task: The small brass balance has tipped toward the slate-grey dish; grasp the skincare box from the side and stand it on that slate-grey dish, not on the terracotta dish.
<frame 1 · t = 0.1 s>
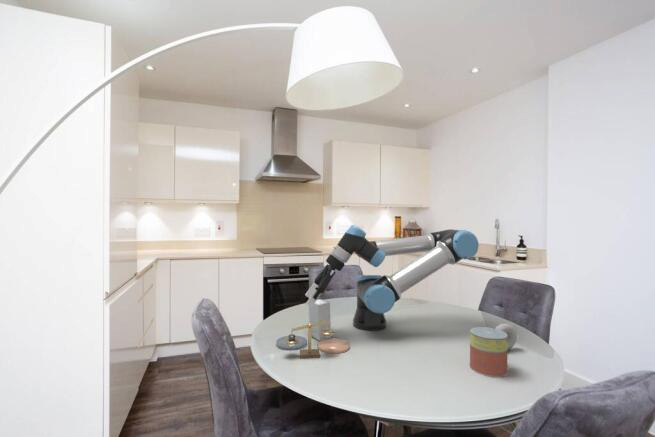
hand: (308, 300, 137), 15 cm above the table, tool tilted 35°, fingers open, 13 cm apart
terracotta dish: (333, 347, 127), on the table
canned food: (488, 369, 110), on the table
skincare box: (319, 337, 138), on the table
balance: (309, 355, 120), on the table
donut: (504, 350, 125), on the table
slate dish: (291, 344, 130), on the table
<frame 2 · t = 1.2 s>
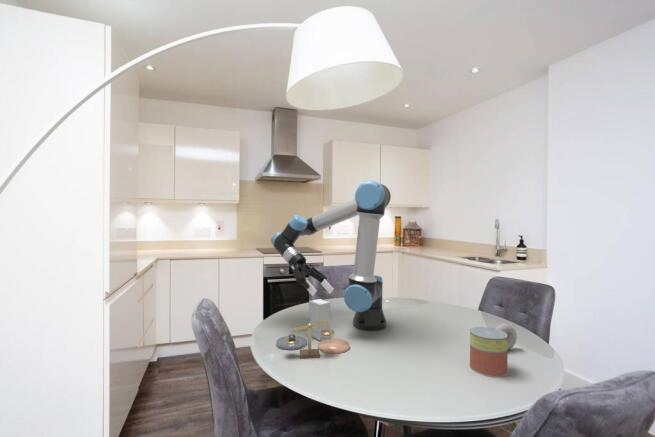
hand: (323, 292, 140), 18 cm above the table, tool tilted 55°, fingers open, 13 cm apart
nothing on the table moved.
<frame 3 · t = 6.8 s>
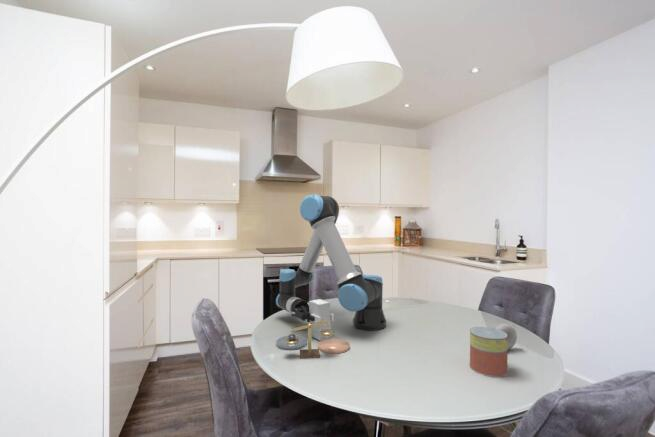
hand: (326, 319, 134), 9 cm above the table, tool horizontal, fingers closed on skincare box, 6 cm apart
skincare box: (319, 337, 138), on the table, touching gripper
everything else where it was.
when the fingers open (11 cm above the table, at t = 10.9 s): skincare box drops 1 cm, resting on slate dish.
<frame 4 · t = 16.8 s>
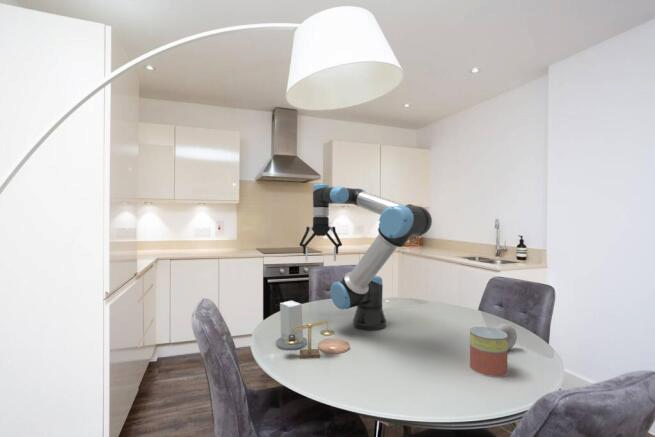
hand: (320, 261, 159), 29 cm above the table, tool pointing down, fingers open, 13 cm apart
skincare box: (291, 341, 130), point 1 cm above the table, touching slate dish
everything else where it was.
at the end: skincare box 0.2 cm from the slate dish (horizontally); skincare box tilted 0°; skincare box touching slate dish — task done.
